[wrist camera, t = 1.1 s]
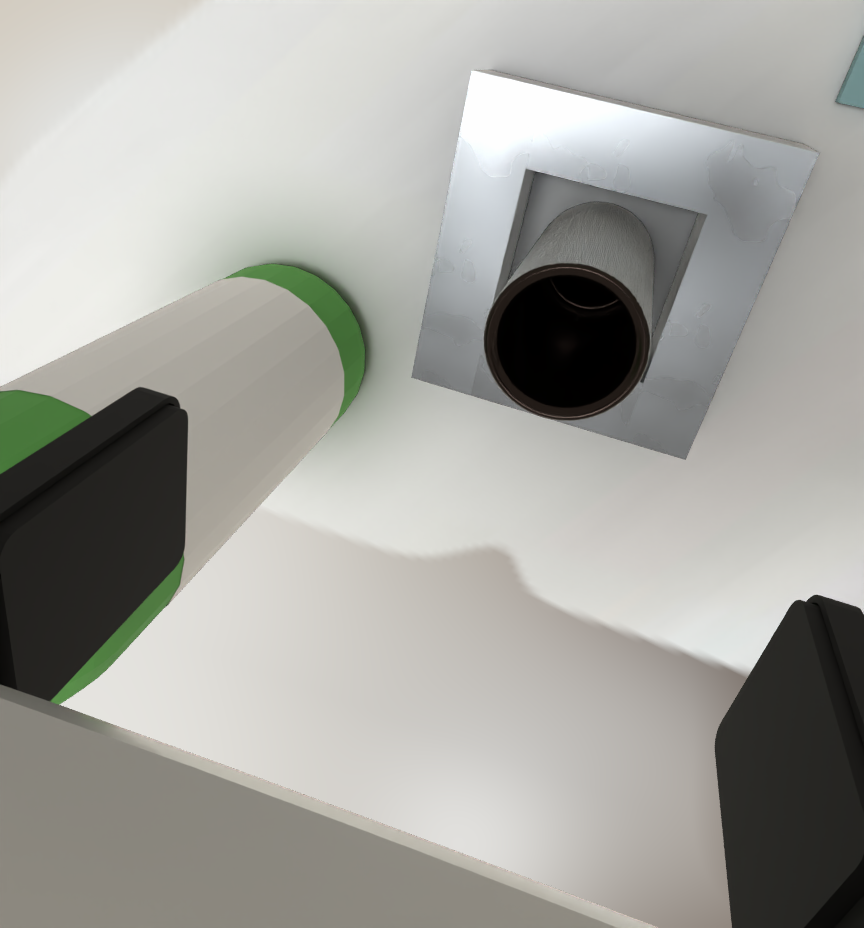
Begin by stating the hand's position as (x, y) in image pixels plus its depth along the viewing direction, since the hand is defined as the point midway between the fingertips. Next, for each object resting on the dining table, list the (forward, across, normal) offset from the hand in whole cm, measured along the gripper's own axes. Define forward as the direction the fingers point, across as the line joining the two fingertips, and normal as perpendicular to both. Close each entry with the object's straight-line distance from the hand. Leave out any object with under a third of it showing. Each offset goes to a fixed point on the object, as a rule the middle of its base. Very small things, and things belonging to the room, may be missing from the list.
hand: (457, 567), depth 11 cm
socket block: (+21, -1, 0) cm, 21 cm away
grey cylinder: (+21, -1, 0) cm, 21 cm away
